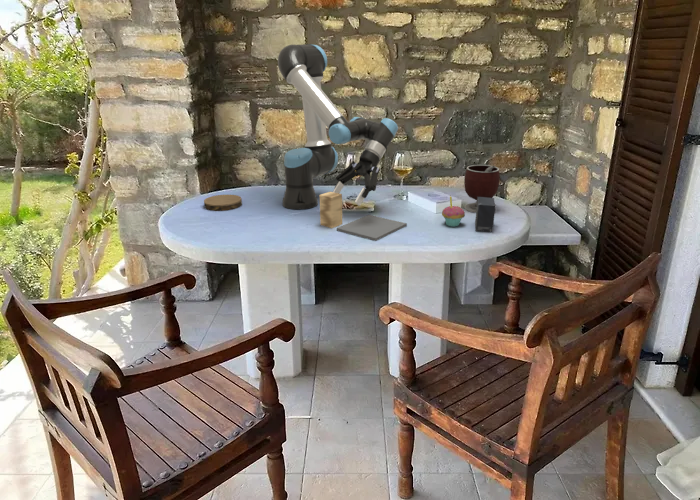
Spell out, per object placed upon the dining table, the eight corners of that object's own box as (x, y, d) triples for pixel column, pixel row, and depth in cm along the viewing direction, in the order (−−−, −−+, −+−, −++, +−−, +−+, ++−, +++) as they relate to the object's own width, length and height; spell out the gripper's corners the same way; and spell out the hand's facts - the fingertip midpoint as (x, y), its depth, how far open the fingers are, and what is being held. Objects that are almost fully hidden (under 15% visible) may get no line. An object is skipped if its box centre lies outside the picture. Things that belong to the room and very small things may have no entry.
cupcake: (451, 229, 192) (453, 198, 188) (436, 223, 199) (438, 193, 194) (468, 225, 196) (471, 194, 192) (453, 219, 203) (455, 189, 199)
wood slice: (202, 212, 216) (201, 205, 215) (206, 202, 230) (205, 195, 229) (241, 210, 218) (240, 203, 217) (242, 200, 232) (242, 193, 231)
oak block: (320, 225, 199) (319, 194, 194) (330, 221, 203) (329, 191, 198) (332, 228, 195) (331, 197, 191) (342, 224, 199) (341, 194, 195)
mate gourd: (456, 205, 220) (460, 158, 213) (486, 202, 223) (490, 156, 216) (473, 216, 206) (477, 166, 199) (504, 213, 209) (510, 164, 202)
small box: (493, 232, 189) (496, 205, 185) (475, 231, 190) (477, 204, 186) (492, 223, 198) (494, 197, 194) (474, 222, 199) (476, 196, 196)
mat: (336, 230, 193) (336, 228, 192) (368, 217, 207) (368, 214, 207) (375, 240, 182) (375, 238, 182) (406, 225, 196) (406, 223, 196)
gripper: (400, 165, 195) (373, 212, 191) (355, 156, 212) (329, 199, 208) (390, 153, 189) (362, 201, 186) (345, 145, 207) (318, 189, 203)
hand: (344, 200), depth 197 cm, fingers open, 13 cm apart
